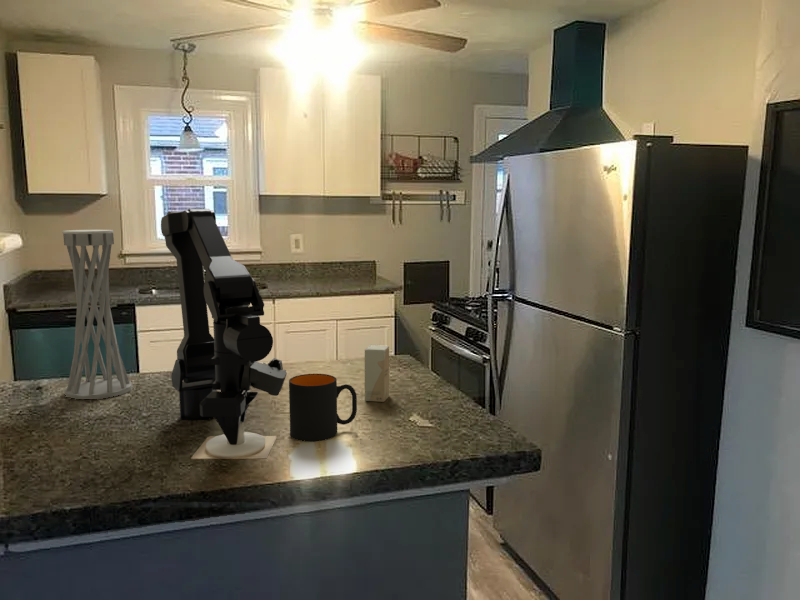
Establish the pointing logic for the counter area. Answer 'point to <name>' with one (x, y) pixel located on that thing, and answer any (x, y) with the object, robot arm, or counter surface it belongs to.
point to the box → (376, 373)
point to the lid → (244, 446)
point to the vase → (107, 384)
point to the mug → (316, 407)
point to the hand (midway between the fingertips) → (235, 440)
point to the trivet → (262, 454)
